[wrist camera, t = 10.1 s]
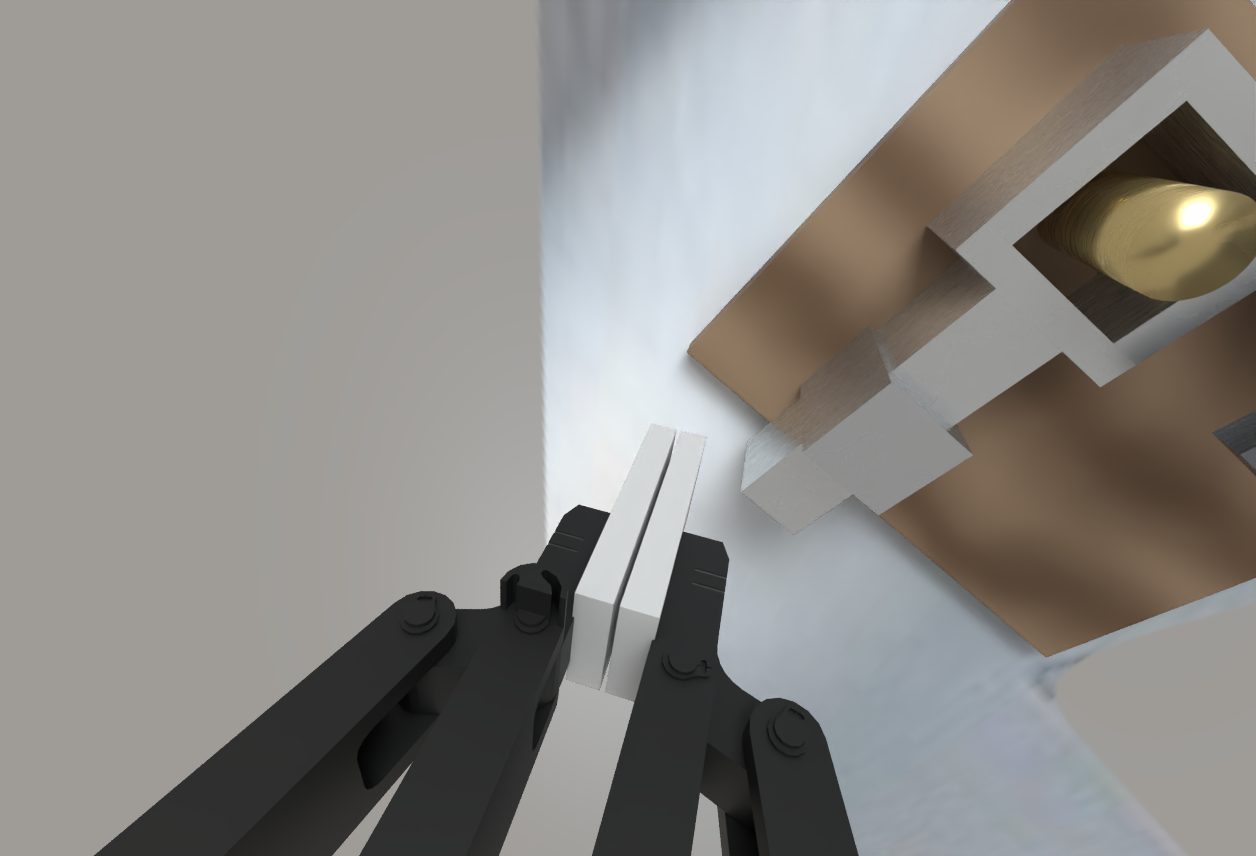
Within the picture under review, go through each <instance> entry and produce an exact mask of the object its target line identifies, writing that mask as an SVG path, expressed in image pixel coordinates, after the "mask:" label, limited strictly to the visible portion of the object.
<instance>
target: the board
mask: <svg viewBox="0 0 1256 856" xmlns="http://www.w3.org/2000/svg"><path fill="white" fill-rule="evenodd" d="M1203 29H1209V30H1210V31H1211V32H1212V33H1213V34H1214V35H1215V36H1216V38H1217V39H1218V40H1219V41H1220V42H1221V43H1222V44H1223V45H1224V47H1225V48H1226V49H1227V50H1228V51H1229V52H1230V53H1231V54H1232V56H1233V57H1234V58H1235V59H1236V60H1237V61H1238V62H1239V63H1240V64H1241V66H1242V67H1243V68H1244V69H1245V70H1246V71H1247V72H1248V73H1249V75H1250V76H1251V77H1252V78H1253V79H1254V80H1255V81H1256V7H1255V6H1254V5H1253V4H1252V2H1251V1H1250V0H1011V1H1010V2H1009V3H1008V4H1007V5H1006V6H1005V7H1004V8H1003V10H1002V11H1001V12H1000V13H999V14H998V15H997V16H996V17H995V18H994V19H993V20H992V21H991V22H990V23H989V25H988V26H987V27H986V28H985V29H984V30H983V31H982V32H981V33H980V34H979V35H978V36H977V37H976V38H975V40H974V41H973V42H972V43H971V44H970V45H969V46H968V47H967V48H966V49H965V50H964V51H963V52H962V53H961V55H960V56H959V57H958V58H957V59H956V60H955V61H954V62H953V63H952V64H951V65H950V66H949V67H948V68H947V69H946V71H945V72H944V73H943V74H942V75H941V76H940V77H939V78H938V79H937V80H936V81H935V82H934V83H933V84H932V86H931V87H930V88H929V89H928V90H927V91H926V92H925V93H924V94H923V95H922V96H921V97H920V98H919V99H918V101H917V102H916V103H915V104H914V105H913V106H912V107H911V108H910V109H909V110H908V111H907V112H906V113H905V114H904V116H903V117H902V118H901V119H900V120H899V121H898V122H897V123H896V124H895V125H894V126H893V127H892V128H891V129H890V131H889V132H888V133H887V134H886V135H885V136H884V137H883V138H882V139H881V140H880V141H879V142H878V143H877V144H876V146H875V147H874V148H873V149H872V150H871V151H870V152H869V153H868V154H867V155H866V156H865V157H864V158H863V159H862V161H861V162H860V163H859V164H858V165H857V166H856V167H855V168H854V169H853V170H852V171H851V172H850V173H849V174H848V176H847V177H846V178H845V179H844V180H843V181H842V182H841V183H840V184H839V185H838V186H837V187H836V188H835V189H834V191H833V192H832V193H831V194H830V195H829V196H828V197H827V198H826V199H825V200H824V201H823V202H822V203H821V204H820V206H819V207H818V208H817V209H816V210H815V211H814V212H813V213H812V214H811V215H810V216H809V217H808V218H807V219H806V220H805V222H804V223H803V224H802V225H801V226H800V227H799V228H798V229H797V230H796V231H795V232H794V233H793V234H792V235H791V237H790V238H789V239H788V240H787V241H786V242H785V243H784V244H783V245H782V246H781V247H780V248H779V249H778V250H777V252H776V253H775V254H774V255H773V256H772V257H771V258H770V259H769V260H768V261H767V262H766V263H765V264H764V265H763V267H762V268H761V269H760V270H759V271H758V272H757V273H756V274H755V275H754V276H753V277H752V278H751V279H750V280H749V282H748V283H747V284H746V285H745V286H744V287H743V288H742V289H741V290H740V291H739V292H738V293H737V294H736V295H735V297H734V298H733V299H732V300H731V301H730V302H729V303H728V304H727V305H726V306H725V307H724V308H723V309H722V310H721V312H720V313H719V314H718V315H717V316H716V317H715V318H714V319H713V320H712V321H711V322H710V323H709V324H708V325H707V327H706V328H705V329H704V330H703V331H702V332H701V333H700V334H699V335H698V336H697V337H696V338H695V339H694V340H693V342H692V343H691V344H690V346H689V349H688V351H687V353H689V354H690V355H691V356H692V357H693V358H695V359H696V360H697V361H698V362H699V363H700V364H702V365H703V366H704V367H705V368H706V369H707V370H709V371H710V372H711V373H712V374H713V375H715V376H716V377H717V378H718V379H719V380H720V381H722V382H723V383H724V384H725V385H726V386H727V387H729V388H730V389H731V390H732V391H733V392H735V393H736V394H737V395H738V396H739V397H740V398H742V399H743V400H744V401H745V402H746V403H747V404H749V405H750V406H751V407H752V408H753V409H755V410H756V411H757V412H758V413H759V414H760V415H762V416H763V417H764V418H765V419H766V420H767V421H769V422H771V421H772V420H773V419H774V418H775V417H777V416H778V415H779V414H780V413H781V412H782V411H784V410H785V409H786V408H787V407H788V406H789V405H790V404H792V403H793V402H794V401H795V400H796V399H797V398H799V397H800V396H801V392H800V385H801V384H802V383H804V382H805V381H806V380H807V379H808V378H809V377H810V376H812V375H813V374H814V373H815V372H816V371H817V370H818V369H820V368H821V367H822V366H823V365H824V364H825V363H826V362H828V361H829V360H830V359H831V358H832V357H833V356H834V355H836V354H837V353H838V352H839V351H840V350H841V349H842V348H844V347H845V346H846V345H847V344H848V343H849V342H850V341H852V340H853V339H854V338H855V337H856V336H857V335H858V334H860V333H861V332H862V331H863V330H864V329H865V328H866V327H868V326H869V325H871V326H872V327H873V328H874V329H875V330H878V329H879V328H880V327H881V326H882V325H883V324H885V323H886V322H887V321H888V320H889V319H890V318H892V317H893V316H894V315H895V314H896V313H897V312H898V311H900V310H901V309H902V308H903V307H904V306H905V305H907V304H908V303H909V302H910V301H911V300H912V299H914V298H915V297H916V296H917V295H918V294H919V293H921V292H922V291H923V290H924V289H925V288H926V287H928V286H929V285H930V284H931V283H932V282H933V281H934V280H936V279H937V278H938V277H939V276H940V275H941V274H943V273H944V272H945V271H946V270H947V269H948V268H950V267H951V266H952V265H953V264H954V263H955V262H957V261H958V260H959V259H960V257H959V256H958V255H957V254H956V253H955V252H954V251H953V250H952V249H951V248H949V247H948V246H947V245H946V244H945V243H944V242H943V241H942V240H941V239H940V238H939V237H938V236H937V235H936V234H935V233H934V232H933V231H932V230H930V229H929V228H928V227H927V225H928V224H929V223H930V222H931V221H932V220H933V219H934V218H935V217H936V216H938V215H939V214H940V213H941V212H942V211H943V210H944V209H945V208H946V207H947V206H948V205H949V204H950V203H952V202H953V201H954V200H955V199H956V198H957V197H958V196H959V195H960V194H961V193H962V192H963V191H964V190H965V189H967V188H968V187H969V186H970V185H971V184H972V183H973V182H974V181H975V180H976V179H977V178H978V177H979V176H981V175H982V174H983V173H984V172H985V171H986V170H987V169H988V168H989V167H990V166H991V165H992V164H993V163H994V162H996V161H997V160H998V159H999V158H1000V157H1001V156H1002V155H1003V154H1004V153H1005V152H1006V151H1007V150H1008V149H1010V148H1011V147H1012V146H1013V145H1014V144H1015V143H1016V142H1017V141H1018V140H1019V139H1020V138H1021V137H1022V136H1023V135H1025V134H1026V133H1027V132H1028V131H1029V130H1030V129H1031V128H1032V127H1033V126H1034V125H1035V124H1036V123H1037V122H1039V121H1040V120H1041V119H1042V118H1043V117H1044V116H1045V115H1046V114H1047V113H1048V112H1049V111H1050V110H1051V109H1052V108H1054V107H1055V106H1056V105H1057V104H1058V103H1059V102H1060V101H1061V100H1062V99H1063V98H1064V97H1065V96H1066V95H1068V94H1069V93H1070V92H1071V91H1072V90H1073V89H1074V88H1075V87H1076V86H1077V85H1078V84H1079V83H1080V82H1081V81H1083V80H1084V79H1085V78H1086V77H1087V76H1088V75H1089V74H1090V73H1091V72H1092V71H1093V70H1094V69H1095V68H1097V67H1098V66H1099V65H1100V64H1101V63H1102V62H1103V61H1104V60H1105V59H1106V58H1107V57H1108V56H1109V55H1110V54H1112V53H1113V52H1114V51H1115V50H1116V49H1117V48H1118V47H1119V46H1124V45H1129V44H1134V43H1139V42H1144V41H1149V40H1154V39H1159V38H1164V37H1169V36H1174V35H1179V34H1184V33H1188V32H1193V31H1198V30H1203ZM1105 169H1110V170H1115V171H1121V172H1126V173H1132V174H1138V175H1143V176H1149V177H1154V178H1160V179H1166V180H1171V181H1177V182H1180V181H1179V180H1178V179H1177V178H1176V177H1175V175H1174V174H1173V173H1172V172H1171V171H1170V170H1169V169H1168V168H1167V167H1166V166H1165V165H1164V164H1163V163H1162V162H1161V161H1160V160H1159V159H1158V158H1157V157H1156V155H1155V154H1154V153H1153V152H1152V151H1151V150H1150V149H1149V148H1148V147H1147V146H1146V145H1145V144H1144V143H1143V142H1142V141H1141V140H1138V141H1137V142H1136V143H1135V144H1134V145H1132V146H1131V147H1130V148H1129V149H1127V150H1126V151H1125V152H1124V153H1123V154H1121V155H1120V156H1119V157H1118V158H1117V159H1115V160H1114V161H1113V162H1112V163H1111V164H1109V165H1108V166H1107V167H1106V168H1105ZM1012 246H1013V247H1014V248H1015V249H1016V250H1017V251H1018V252H1019V253H1020V254H1021V255H1022V256H1023V257H1024V258H1026V259H1027V260H1028V261H1029V262H1030V263H1031V264H1032V265H1033V266H1034V267H1035V268H1036V269H1037V270H1038V271H1039V272H1040V273H1041V274H1042V275H1043V276H1044V277H1045V278H1046V279H1047V280H1048V281H1049V282H1050V283H1051V284H1052V285H1053V286H1054V287H1055V288H1057V289H1058V290H1059V291H1060V292H1061V293H1062V294H1063V295H1064V296H1065V297H1067V296H1068V295H1069V294H1071V293H1072V292H1073V291H1075V290H1076V289H1078V288H1079V287H1080V286H1082V285H1083V284H1084V283H1086V282H1087V281H1088V280H1090V279H1091V278H1093V277H1094V276H1095V275H1097V274H1098V273H1099V272H1098V271H1096V270H1094V269H1093V268H1091V267H1089V266H1087V265H1085V264H1083V263H1081V262H1079V261H1077V260H1075V259H1073V258H1071V257H1069V256H1067V255H1066V254H1064V253H1062V252H1060V251H1058V250H1056V249H1054V248H1052V247H1050V246H1049V245H1047V244H1046V243H1045V242H1044V241H1043V240H1042V239H1041V237H1040V235H1039V233H1038V230H1037V225H1036V226H1035V227H1033V228H1032V229H1031V230H1030V231H1029V232H1027V233H1026V234H1025V235H1024V236H1022V237H1021V238H1020V239H1019V240H1018V241H1016V242H1015V243H1014V244H1013V245H1012ZM1255 410H1256V291H1254V292H1252V293H1251V294H1249V295H1248V296H1246V297H1244V298H1243V299H1241V300H1240V301H1238V302H1236V303H1235V304H1233V305H1231V306H1230V307H1228V308H1227V309H1225V310H1223V311H1222V312H1220V313H1219V314H1217V315H1215V316H1214V317H1212V318H1211V319H1209V320H1207V321H1206V322H1204V323H1203V324H1201V325H1199V326H1198V327H1196V328H1195V329H1193V330H1191V331H1190V332H1188V333H1187V334H1185V335H1183V336H1182V337H1180V338H1179V339H1177V340H1175V341H1174V342H1172V343H1171V344H1169V345H1167V346H1166V347H1164V348H1163V349H1161V350H1159V351H1158V352H1156V353H1155V354H1153V355H1151V356H1150V357H1148V358H1147V359H1145V360H1143V361H1142V362H1140V363H1139V364H1137V365H1135V366H1134V367H1132V368H1131V369H1129V370H1127V371H1126V372H1124V373H1123V374H1121V375H1119V376H1118V377H1116V378H1115V379H1113V380H1111V381H1110V382H1108V383H1106V384H1105V385H1103V386H1102V387H1099V386H1098V385H1097V384H1096V383H1095V382H1094V381H1093V380H1092V379H1090V378H1089V377H1088V376H1087V375H1086V374H1085V373H1084V372H1083V371H1081V370H1080V369H1079V368H1078V367H1077V366H1076V365H1075V364H1074V363H1072V362H1071V361H1070V360H1069V359H1068V358H1067V357H1066V356H1065V355H1063V354H1062V353H1059V354H1058V355H1056V356H1055V357H1053V358H1052V359H1051V360H1049V361H1048V362H1046V363H1045V364H1043V365H1042V366H1040V367H1039V368H1037V369H1036V370H1034V371H1033V372H1031V373H1030V374H1029V375H1027V376H1026V377H1024V378H1023V379H1021V380H1020V381H1018V382H1017V383H1015V384H1014V385H1012V386H1011V387H1010V388H1008V389H1007V390H1005V391H1004V392H1002V393H1001V394H999V395H998V396H996V397H995V398H993V399H992V400H990V401H989V402H988V403H986V404H985V405H983V406H982V407H980V408H979V409H977V410H976V411H974V412H973V413H971V414H970V415H969V416H967V417H966V418H964V419H963V420H961V421H960V422H958V423H957V425H958V427H959V429H960V431H961V433H962V435H963V437H964V439H965V441H966V442H967V444H968V446H969V448H970V450H971V452H972V454H973V456H971V457H969V458H968V459H966V460H965V461H963V462H962V463H960V464H958V465H957V466H955V467H954V468H952V469H951V470H949V471H947V472H946V473H944V474H943V475H941V476H940V477H938V478H936V479H935V480H933V481H932V482H930V483H929V484H927V485H925V486H924V487H922V488H921V489H919V490H918V491H916V492H914V493H913V494H911V495H910V496H908V497H907V498H905V499H903V500H902V501H900V502H899V503H897V504H896V505H894V506H892V507H891V508H889V509H888V510H886V511H885V512H883V513H881V514H880V515H879V516H880V517H882V518H883V519H884V520H885V521H886V522H887V523H889V524H890V525H891V526H892V527H893V528H894V529H896V530H897V531H898V532H899V533H900V534H902V535H903V536H904V537H905V538H906V539H907V540H909V541H910V542H911V543H912V544H913V545H914V546H916V547H917V548H918V549H919V550H920V551H922V552H923V553H924V554H925V555H926V556H927V557H929V558H930V559H931V560H932V561H933V562H934V563H936V564H937V565H938V566H939V567H940V568H942V569H943V570H944V571H945V572H946V573H947V574H949V575H950V576H951V577H952V578H953V579H954V580H956V581H957V582H958V583H959V584H960V585H962V586H963V587H964V588H965V589H966V590H967V591H969V592H970V593H971V594H972V595H973V596H974V597H976V598H977V599H978V600H979V601H980V602H982V603H983V604H984V605H985V606H986V607H987V608H989V609H990V610H991V611H992V612H993V613H994V614H996V615H997V616H998V617H999V618H1000V619H1002V620H1003V621H1004V622H1005V623H1006V624H1007V625H1009V626H1010V627H1011V628H1012V629H1013V630H1014V631H1016V632H1017V633H1018V634H1019V635H1020V636H1022V637H1023V638H1024V639H1025V640H1026V641H1027V642H1029V643H1030V644H1031V645H1032V646H1033V647H1034V648H1036V649H1037V650H1038V651H1039V652H1040V653H1042V654H1043V655H1044V656H1045V657H1049V656H1051V655H1054V654H1057V653H1059V652H1062V651H1065V650H1067V649H1070V648H1072V647H1075V646H1078V645H1080V644H1083V643H1086V642H1088V641H1091V640H1094V639H1096V638H1099V637H1101V636H1104V635H1107V634H1109V633H1112V632H1115V631H1117V630H1120V629H1122V628H1125V627H1128V626H1130V625H1133V624H1136V623H1138V622H1141V621H1143V620H1146V619H1149V618H1151V617H1154V616H1157V615H1159V614H1162V613H1164V612H1167V611H1170V610H1172V609H1175V608H1178V607H1180V606H1183V605H1185V604H1188V603H1191V602H1193V601H1196V600H1199V599H1201V598H1204V597H1206V596H1209V595H1212V594H1214V593H1217V592H1220V591H1222V590H1225V589H1227V588H1230V587H1233V586H1235V585H1238V584H1241V583H1243V582H1246V581H1248V580H1251V579H1254V578H1256V476H1255V475H1254V474H1253V473H1252V472H1251V471H1250V470H1249V469H1248V468H1247V467H1246V466H1245V465H1244V464H1243V463H1242V462H1241V461H1240V460H1239V459H1238V458H1237V457H1236V456H1235V455H1234V454H1233V453H1232V452H1231V451H1230V450H1229V449H1228V448H1227V447H1226V446H1225V445H1224V444H1223V443H1222V442H1221V441H1220V440H1219V439H1218V438H1217V437H1216V436H1215V435H1214V434H1213V433H1212V432H1214V431H1216V430H1218V429H1220V428H1222V427H1224V426H1226V425H1228V424H1230V423H1232V422H1234V421H1235V420H1237V419H1239V418H1241V417H1243V416H1245V415H1247V414H1249V413H1251V412H1253V411H1255Z"/></svg>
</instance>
